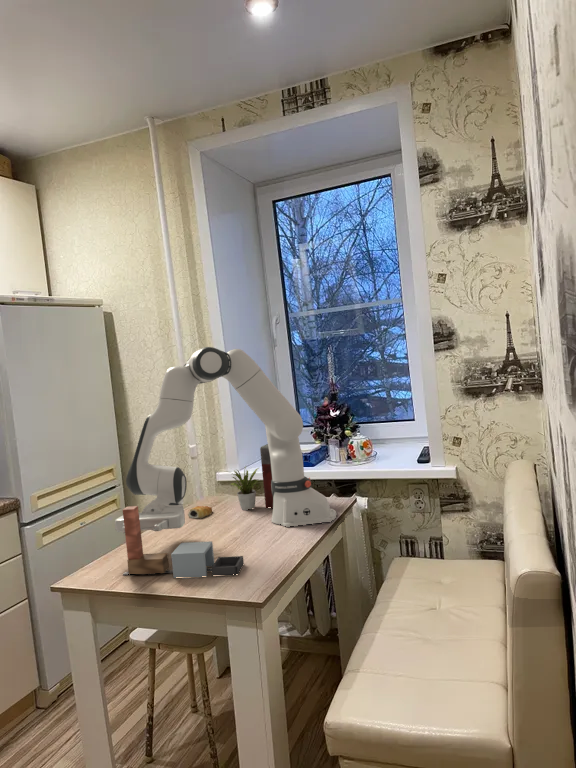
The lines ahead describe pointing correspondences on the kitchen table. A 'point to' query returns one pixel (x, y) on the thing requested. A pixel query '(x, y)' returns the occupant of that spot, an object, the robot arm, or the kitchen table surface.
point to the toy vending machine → (266, 475)
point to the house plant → (246, 490)
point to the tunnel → (192, 559)
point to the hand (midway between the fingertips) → (140, 529)
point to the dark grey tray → (227, 565)
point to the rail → (164, 572)
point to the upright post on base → (140, 547)
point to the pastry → (200, 512)
